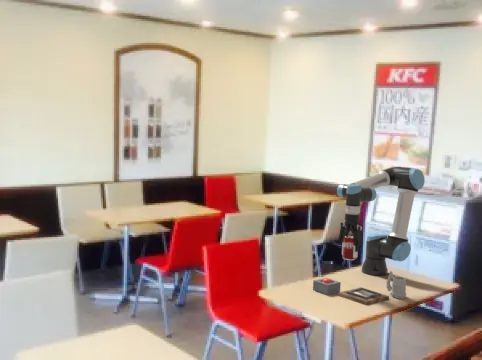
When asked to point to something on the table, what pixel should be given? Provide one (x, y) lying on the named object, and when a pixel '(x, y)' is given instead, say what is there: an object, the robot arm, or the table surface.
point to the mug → (397, 286)
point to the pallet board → (363, 295)
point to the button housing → (326, 286)
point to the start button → (327, 280)
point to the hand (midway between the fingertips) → (349, 255)
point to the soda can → (348, 248)
